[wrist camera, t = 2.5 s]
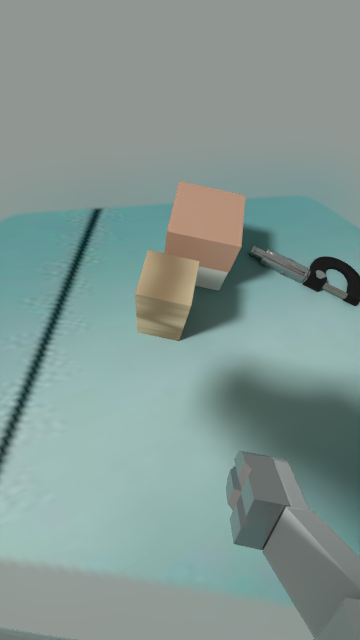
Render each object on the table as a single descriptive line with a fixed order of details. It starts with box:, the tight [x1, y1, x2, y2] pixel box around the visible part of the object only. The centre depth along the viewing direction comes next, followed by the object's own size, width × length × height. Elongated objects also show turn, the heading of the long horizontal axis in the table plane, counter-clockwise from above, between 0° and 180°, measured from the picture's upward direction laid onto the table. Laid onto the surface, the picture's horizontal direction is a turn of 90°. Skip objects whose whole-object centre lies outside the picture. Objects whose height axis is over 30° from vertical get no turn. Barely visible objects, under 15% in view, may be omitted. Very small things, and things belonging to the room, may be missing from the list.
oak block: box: [135, 250, 199, 341], centre depth 25 cm, size 4×4×8 cm
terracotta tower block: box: [165, 181, 245, 272], centre depth 27 cm, size 7×7×4 cm
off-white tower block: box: [195, 266, 228, 291], centre depth 31 cm, size 7×7×4 cm
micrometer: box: [249, 245, 360, 306], centre depth 34 cm, size 15×7×2 cm, turn 62°
